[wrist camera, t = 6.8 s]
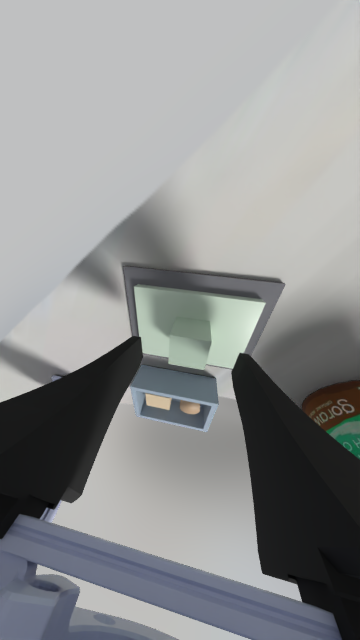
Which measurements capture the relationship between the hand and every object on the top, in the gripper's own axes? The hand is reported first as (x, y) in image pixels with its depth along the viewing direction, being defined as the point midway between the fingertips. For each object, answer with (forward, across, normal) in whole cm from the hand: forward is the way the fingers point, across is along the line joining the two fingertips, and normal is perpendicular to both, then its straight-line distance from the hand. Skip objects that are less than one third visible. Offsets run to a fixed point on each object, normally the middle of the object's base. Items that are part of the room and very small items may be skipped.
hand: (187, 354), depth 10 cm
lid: (+4, 0, 0) cm, 4 cm away
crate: (+4, +1, +11) cm, 12 cm away
